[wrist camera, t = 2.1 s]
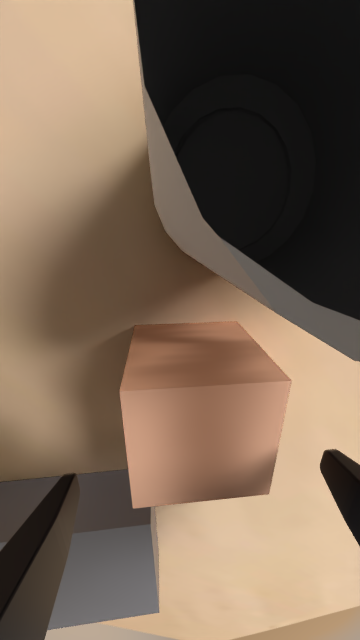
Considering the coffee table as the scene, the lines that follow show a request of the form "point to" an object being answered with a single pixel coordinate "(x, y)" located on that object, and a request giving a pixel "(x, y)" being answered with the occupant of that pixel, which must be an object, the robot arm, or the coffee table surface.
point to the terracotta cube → (200, 413)
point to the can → (261, 148)
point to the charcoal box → (95, 548)
